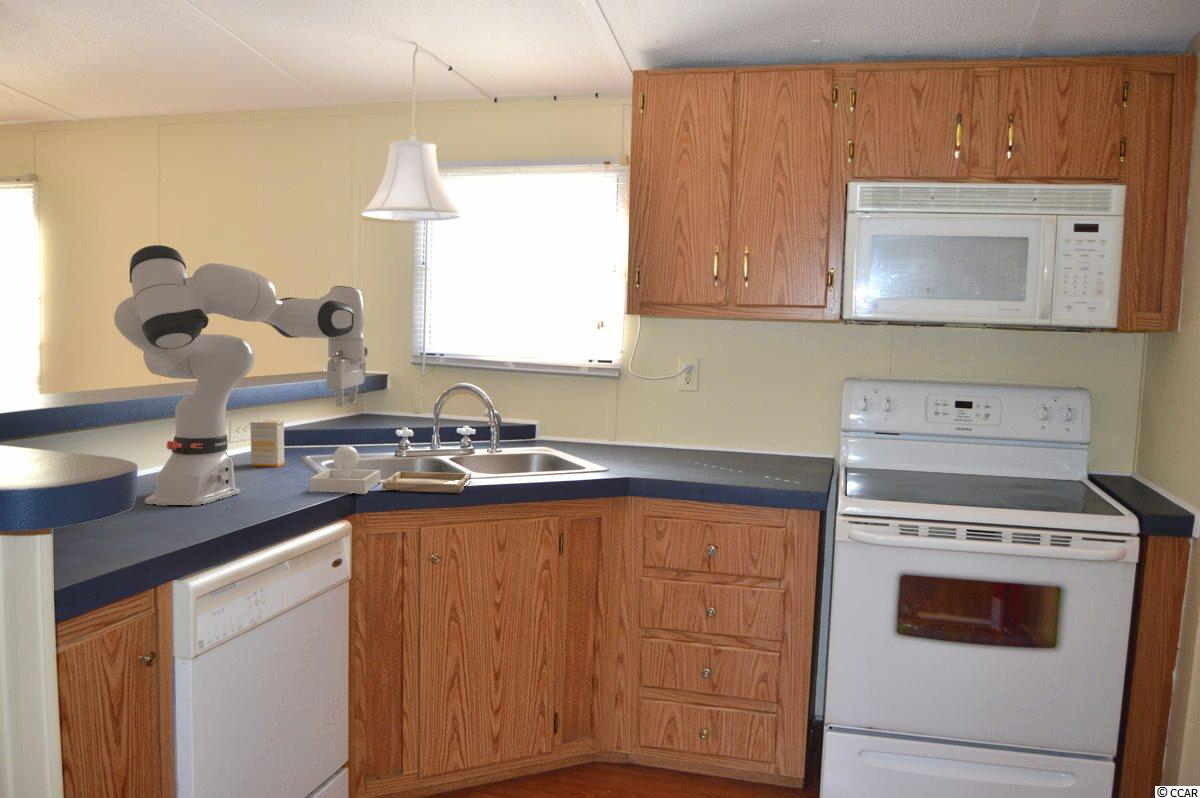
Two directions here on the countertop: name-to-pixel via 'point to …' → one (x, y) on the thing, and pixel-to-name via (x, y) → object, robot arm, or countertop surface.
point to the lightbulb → (346, 460)
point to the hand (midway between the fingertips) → (346, 404)
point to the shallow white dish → (345, 481)
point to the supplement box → (267, 443)
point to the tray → (426, 482)
